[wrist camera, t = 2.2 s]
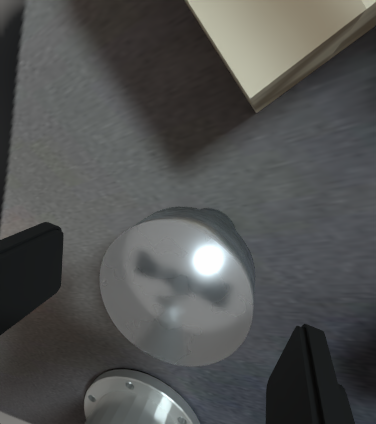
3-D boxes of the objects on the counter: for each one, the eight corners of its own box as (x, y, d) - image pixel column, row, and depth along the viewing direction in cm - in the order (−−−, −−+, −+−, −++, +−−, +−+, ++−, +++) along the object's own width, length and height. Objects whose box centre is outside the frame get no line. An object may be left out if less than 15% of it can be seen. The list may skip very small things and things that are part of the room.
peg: (197, 292, 20) (156, 382, 13) (146, 218, 19) (73, 267, 12) (278, 253, 17) (288, 338, 10) (222, 167, 17) (186, 188, 9)
